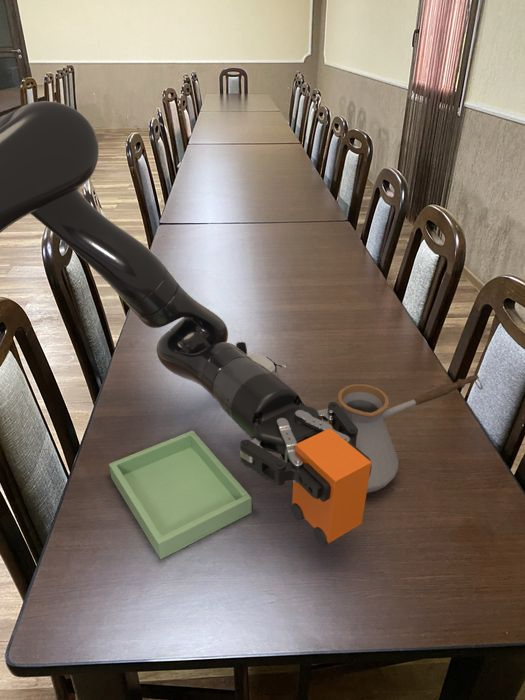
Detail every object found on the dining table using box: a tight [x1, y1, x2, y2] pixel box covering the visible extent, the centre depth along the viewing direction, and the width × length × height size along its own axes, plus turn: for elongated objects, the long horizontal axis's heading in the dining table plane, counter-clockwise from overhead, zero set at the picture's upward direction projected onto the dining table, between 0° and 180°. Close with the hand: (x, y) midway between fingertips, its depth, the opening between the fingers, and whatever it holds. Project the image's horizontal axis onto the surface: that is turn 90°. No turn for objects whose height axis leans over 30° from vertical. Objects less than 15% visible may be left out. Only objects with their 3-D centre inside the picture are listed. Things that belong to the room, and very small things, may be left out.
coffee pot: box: [337, 374, 484, 494], centre depth 71 cm, size 21×12×15 cm, turn 98°
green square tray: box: [108, 430, 253, 560], centre depth 70 cm, size 16×13×3 cm
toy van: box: [290, 428, 371, 547], centre depth 58 cm, size 7×5×10 cm
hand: (348, 482), depth 54 cm, fingers closed on toy van, 4 cm apart
